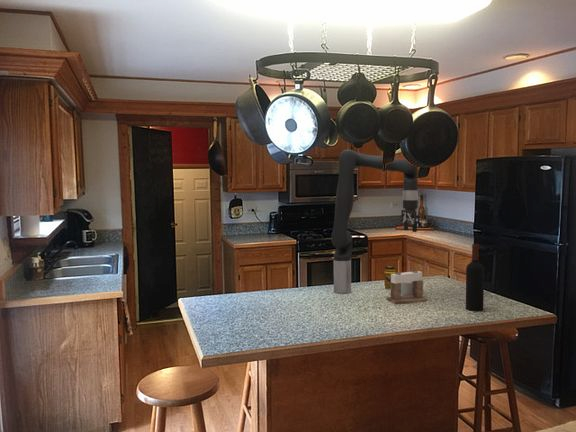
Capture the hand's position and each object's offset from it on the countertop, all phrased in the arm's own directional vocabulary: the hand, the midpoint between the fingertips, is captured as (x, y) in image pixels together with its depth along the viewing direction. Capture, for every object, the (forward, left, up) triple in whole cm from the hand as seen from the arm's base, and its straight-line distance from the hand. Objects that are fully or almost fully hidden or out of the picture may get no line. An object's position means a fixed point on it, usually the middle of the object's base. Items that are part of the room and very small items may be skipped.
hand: (410, 230), depth 246 cm
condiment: (-17, -3, -33) cm, 38 cm away
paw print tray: (-4, +1, -33) cm, 34 cm away
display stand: (+9, -7, -33) cm, 35 cm away
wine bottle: (+33, +14, -33) cm, 49 cm away
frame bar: (+9, -7, -24) cm, 26 cm away
